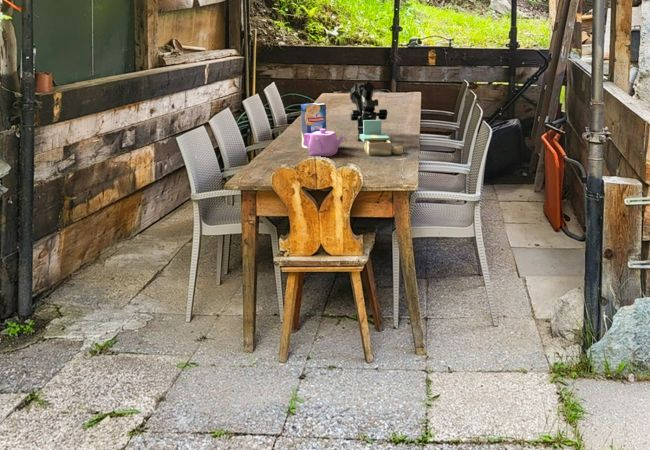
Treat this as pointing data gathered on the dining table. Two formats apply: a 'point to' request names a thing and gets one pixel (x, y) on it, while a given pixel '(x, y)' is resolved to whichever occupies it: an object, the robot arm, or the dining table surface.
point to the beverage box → (312, 118)
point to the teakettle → (322, 143)
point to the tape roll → (397, 149)
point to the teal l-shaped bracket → (372, 131)
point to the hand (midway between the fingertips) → (370, 127)
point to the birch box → (377, 147)
